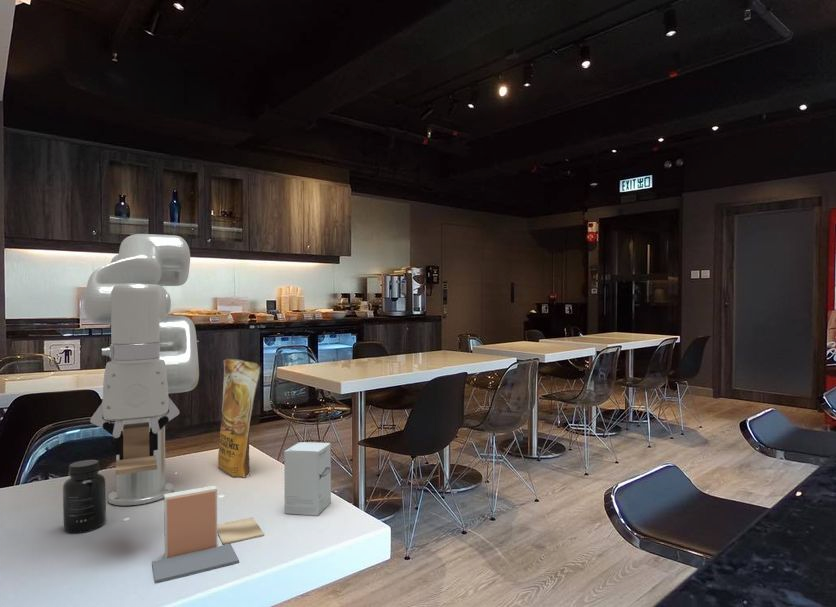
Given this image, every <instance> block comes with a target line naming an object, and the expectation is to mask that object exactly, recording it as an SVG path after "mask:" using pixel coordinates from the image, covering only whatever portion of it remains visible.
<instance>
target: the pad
mask: <svg viewBox="0 0 836 607" xmlns="http://www.w3.org/2000/svg"><path fill="white" fill-rule="evenodd" d="M217 536H218V537H219V539H220V541H221V544H222V546H223V545H227V544H234V543H237V542H242V541H246V540H252V539H255V538H259V537H263V536H265V533H264V531H263V530H262V528H261V527H260V525H259V524H258V522H257V521H256V520H255V519H254V517H253V516H252V517H247V518H243V519H238V520H233V521H229V522H223V523H219V524H218V523H217Z"/></svg>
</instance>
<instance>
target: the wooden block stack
mask: <svg viewBox="0 0 836 607" xmlns="http://www.w3.org/2000/svg"><path fill="white" fill-rule="evenodd" d="M115 462H116V461H115ZM150 470H157V461H156V455H155V456H149V422H144V423H134V424H124V426H123V460H117V462H116V463H115V476H116V475H121V474H129V473H136V472H143V471H150Z"/></svg>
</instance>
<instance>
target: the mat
mask: <svg viewBox="0 0 836 607" xmlns="http://www.w3.org/2000/svg"><path fill="white" fill-rule="evenodd" d="M239 563H240V559H239V557H238V556H237V554H236V551H235V549H234V548H233V546H232V543H229V544H225V545H223V544H222V545H218V547H214V548H210V549H205V550H201V551H196V552H192V553H188V554H183V555H179V556H174V557H170V558H165V557H164V558H163V559H157V560H152V561H151V565H152V572H153V579H154V583H155V584H158V583H163V582H167V581H170V580H173V579H174V580H175V579H178V578H183V577H186V576H191V575H194V574H199V573H203V572H206V571H211V570H214V569H218V568H219V569H220V568H222V567H228V566H231V565H235V564H236V565H237V564H239Z"/></svg>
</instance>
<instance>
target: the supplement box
mask: <svg viewBox="0 0 836 607" xmlns="http://www.w3.org/2000/svg"><path fill="white" fill-rule="evenodd" d="M331 445H332V444H331V443H330V442H314V441H313V442H307V441H306V442H304V441H303V442H301V441H300V442H297V443H295V444H294V445H292V446H290V447H289V448H288V449H287V448H286V449H285V450H284V451H283V452H284V453H283V454H284V458H283V459H284V460H283V461H284V472H283V473H284V514H287V515H289V514H290V515H300V516H314V517H315V516H316V517H317V516H319V515H320V514H321V513H322V512H323V510H325V508H327V507H328V506H329V505H330V504H331V503H332V474H331V473H332V463H331V452H332V451H331Z"/></svg>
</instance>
